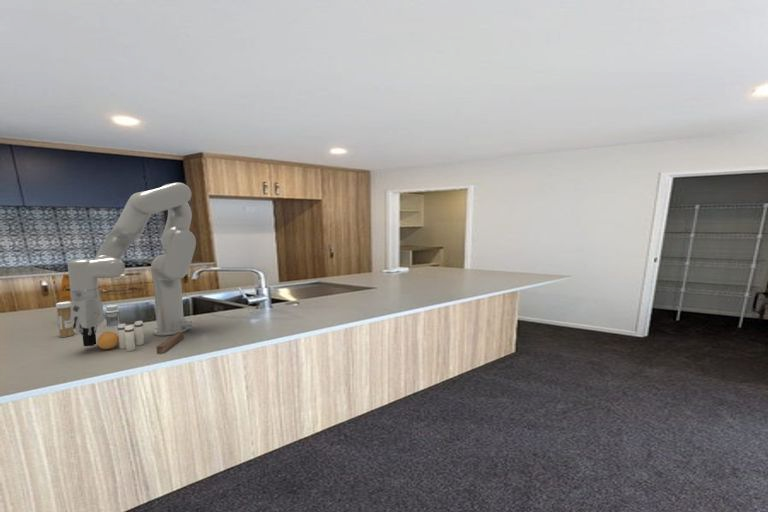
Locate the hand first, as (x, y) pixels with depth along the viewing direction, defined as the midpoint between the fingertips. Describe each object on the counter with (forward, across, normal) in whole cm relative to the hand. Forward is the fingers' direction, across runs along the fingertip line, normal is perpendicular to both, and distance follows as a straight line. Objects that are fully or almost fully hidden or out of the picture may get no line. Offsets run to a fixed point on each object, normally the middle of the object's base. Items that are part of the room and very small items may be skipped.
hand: (90, 345), depth 127 cm
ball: (-2, 0, -6) cm, 7 cm away
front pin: (+1, 0, -11) cm, 11 cm away
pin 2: (+2, +3, -15) cm, 15 cm away
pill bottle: (+2, +32, +11) cm, 34 cm away
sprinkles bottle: (+2, +18, +20) cm, 27 cm away
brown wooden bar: (+2, 0, -27) cm, 27 cm away
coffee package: (+2, +39, +30) cm, 49 cm away
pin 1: (+1, -3, -15) cm, 15 cm away
